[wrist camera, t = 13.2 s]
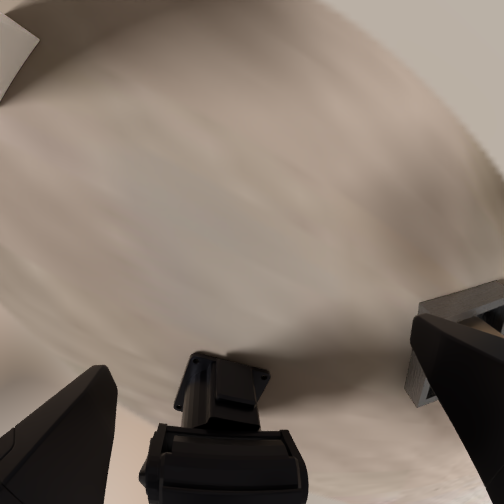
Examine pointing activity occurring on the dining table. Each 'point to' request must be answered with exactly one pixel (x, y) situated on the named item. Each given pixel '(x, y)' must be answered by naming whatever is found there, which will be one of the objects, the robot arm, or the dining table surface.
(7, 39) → the milk
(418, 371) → the tray
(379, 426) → the dining table surface
